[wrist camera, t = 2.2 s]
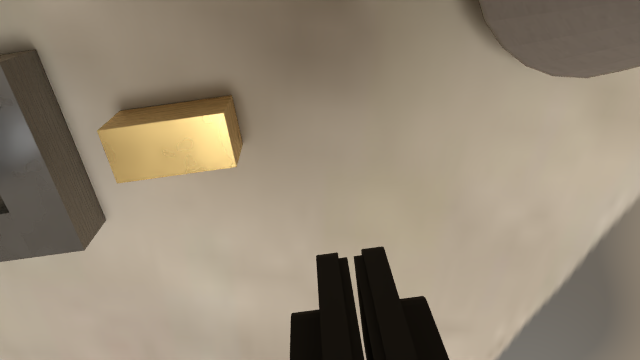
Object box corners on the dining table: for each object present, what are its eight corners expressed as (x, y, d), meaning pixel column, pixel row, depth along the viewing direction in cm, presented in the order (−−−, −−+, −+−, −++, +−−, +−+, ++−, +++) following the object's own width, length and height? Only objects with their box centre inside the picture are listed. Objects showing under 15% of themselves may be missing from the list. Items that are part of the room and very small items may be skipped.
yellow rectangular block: (119, 110, 23) (96, 130, 21) (231, 95, 23) (223, 112, 21) (136, 158, 25) (117, 183, 22) (242, 144, 25) (236, 166, 22)
